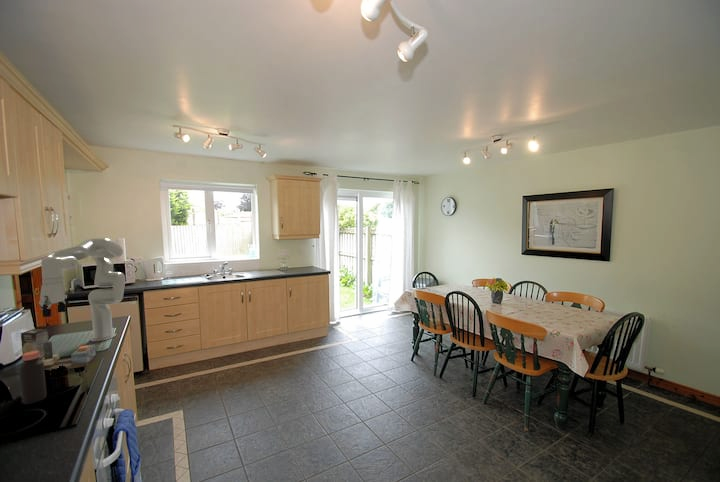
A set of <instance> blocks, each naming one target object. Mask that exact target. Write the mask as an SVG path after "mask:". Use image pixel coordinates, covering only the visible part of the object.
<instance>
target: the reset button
mask: <svg viewBox="0 0 720 482" xmlns="http://www.w3.org/2000/svg"><path fill="white" fill-rule="evenodd" d="M89 345H90V344H88V345H81V346H79V347H78V348H77V349H78V351H83V350H88V349H89Z"/></svg>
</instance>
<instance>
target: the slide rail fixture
mask: <svg viewBox="0 0 720 482" xmlns="http://www.w3.org/2000/svg"><path fill="white" fill-rule="evenodd" d="M88 345H89V349H88V350H83V351H78V348H77V349H76V350H75V351H74V352H73V353H71V356H70V357H69V358H62V359H61V358H60V359H58V360H57V361H56V362H55V363H53V364H52V365H48V366H44V370H52V369H57V368H59V366H62V365H63V366H65V367H66V368H67V369H66V370H70V369H75V368H82V367H86V366H88V365H89V364H90V363H91V362H92V361H93V359H94V358H96V355H97V348H96V343H95V344H94V343H93V344H88ZM43 358H44V355H42V356H40V358H39V360H42V359H43Z"/></svg>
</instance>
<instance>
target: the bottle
mask: <svg viewBox="0 0 720 482" xmlns="http://www.w3.org/2000/svg"><path fill="white" fill-rule="evenodd" d="M21 358H22V362H23V364H22V365H20V367H19V376H20V385H21V394H22V395H21V397H22V404H24V405H32V404H35V403H38V402H41V401H43V400H44V399H46V398H47V384H46V383H47V382H46V373H45V371H44V362H43V361H41V360H39V358H40V352H39V351H31V352H27V353H24V354H23V353H22V354H21Z"/></svg>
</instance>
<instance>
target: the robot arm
mask: <svg viewBox="0 0 720 482" xmlns="http://www.w3.org/2000/svg"><path fill="white" fill-rule="evenodd" d="M123 254H124V249H123V247H122V246H121V245H120V244H119V243H117V242H115V241H114V240H112V239H110V238H107V237H102V238H99V237H98V238H97V237H96V238H95V237H93V238H88V239H86V240H84V241H82V242H80V243H79V244H78V243H77V245H75V246H72V247H68V248H66V249H61V250H58V251H55V252H53V253H51V254H49V255H47V256H45V257H44V258H42V259H41V263H40V264H41V279H42V280H41V282H42V284H41V287H40V296H39V297H40V300H39V301H38V304H39V307H40V308H41V310H42V318H50V317H52V308H51V306H52V305H55V304H57V313H65V312H67V310H66V304H67V301H68V300H67V298H68V295H67V294H66V293H65V291H66V290H65V285H64V274H63V273H64V272H63V271H70V270H74V269H75V268H77V266H78V265H79V261H82V260H85V259H88V258H90V256H91V257H92V258H93V260H94V262H95V263H96V270H95V276H94V282H93V283H94V286H95V287H96V288H97V287H98V289H93V290H92V291H90V292H89V294H88V297H87V299H88V303H89V305H90V311H91V323H92V334H93V336H91V337H90V340H89V341H91V342H101V341H106V340H110V339H113V338H115V337H116V335H117V333H116V332H114V331H113V319H112V309H111V307H110V304H118V303H120V302H122V300H123V298H124V293H125V287H126V286H125V285H126V276H125V274H124V272H120V271H114V263H113V262H112V261H111V260H110V259H115V258H116V259H117V258H120V257H121V256H122V255H123Z"/></svg>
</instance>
